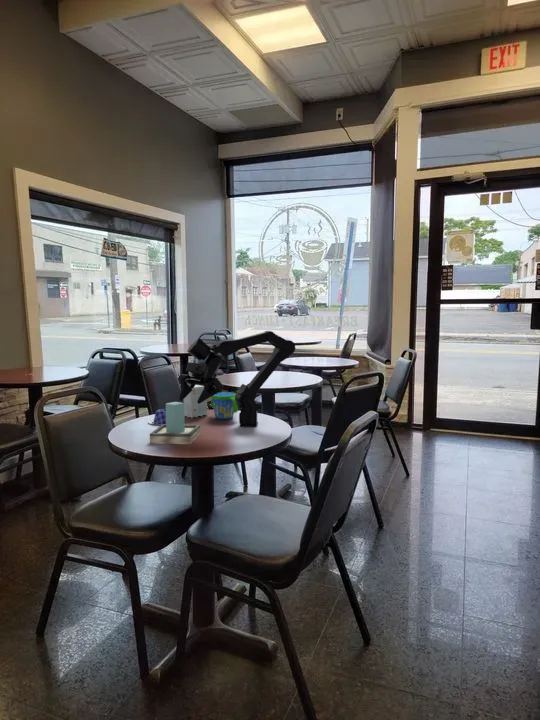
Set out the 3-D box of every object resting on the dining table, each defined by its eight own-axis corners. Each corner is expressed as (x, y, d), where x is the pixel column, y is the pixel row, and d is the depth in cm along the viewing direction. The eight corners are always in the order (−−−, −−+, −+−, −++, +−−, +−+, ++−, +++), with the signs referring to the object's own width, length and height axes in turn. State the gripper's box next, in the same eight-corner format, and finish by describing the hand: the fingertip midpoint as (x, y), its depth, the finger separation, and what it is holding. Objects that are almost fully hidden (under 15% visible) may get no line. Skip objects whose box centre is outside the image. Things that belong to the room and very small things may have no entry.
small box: (199, 413, 207) (198, 384, 206) (207, 415, 202) (207, 385, 201) (183, 416, 201) (182, 386, 200) (191, 418, 197) (191, 387, 196)
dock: (200, 433, 171) (200, 424, 171) (190, 444, 157) (190, 434, 157) (162, 433, 172) (162, 424, 172) (150, 443, 159) (149, 433, 158)
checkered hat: (167, 418, 199) (166, 406, 198) (184, 422, 191) (184, 409, 190) (142, 423, 190) (141, 410, 189) (159, 428, 182) (159, 414, 181)
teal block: (176, 429, 168) (175, 401, 167) (184, 431, 165) (184, 403, 164) (166, 431, 164) (165, 403, 163) (175, 433, 162) (174, 405, 161)
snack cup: (245, 419, 195) (245, 395, 194) (223, 423, 188) (223, 397, 188) (225, 413, 207) (224, 390, 206) (204, 416, 201) (203, 392, 200)
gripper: (180, 353, 177) (158, 385, 169) (217, 355, 166) (195, 390, 158) (196, 371, 184) (175, 403, 176) (232, 375, 173) (212, 409, 165)
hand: (188, 401), depth 169 cm, fingers open, 9 cm apart
